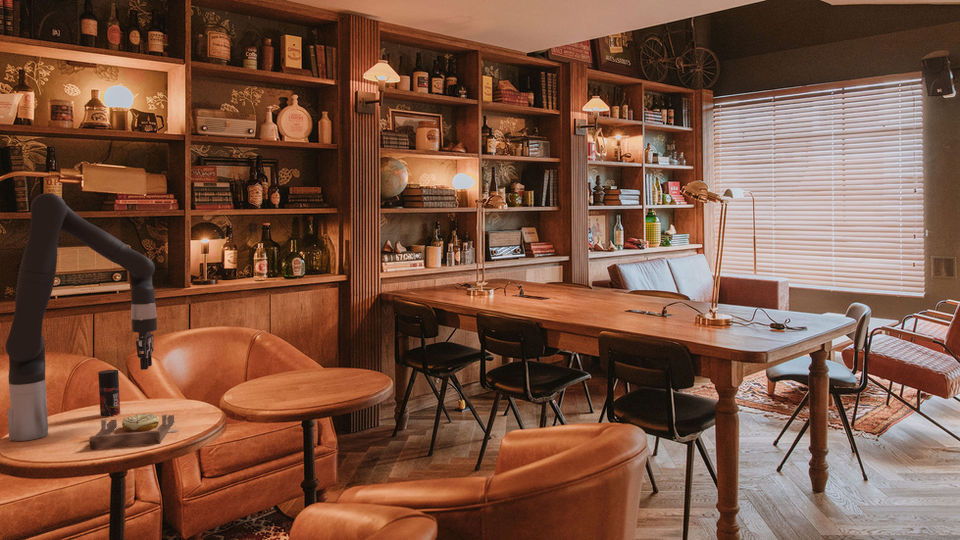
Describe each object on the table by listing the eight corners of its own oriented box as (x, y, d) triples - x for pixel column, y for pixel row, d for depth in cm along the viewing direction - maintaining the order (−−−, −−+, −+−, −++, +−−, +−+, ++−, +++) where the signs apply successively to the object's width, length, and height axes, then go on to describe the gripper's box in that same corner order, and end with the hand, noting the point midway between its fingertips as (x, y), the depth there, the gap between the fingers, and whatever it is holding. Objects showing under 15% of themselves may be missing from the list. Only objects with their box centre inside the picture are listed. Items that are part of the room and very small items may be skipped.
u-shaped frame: (78, 450, 188) (77, 431, 188) (101, 428, 210) (100, 411, 209) (171, 442, 195) (170, 424, 194) (184, 421, 216) (183, 405, 216)
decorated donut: (133, 435, 203) (132, 423, 202) (116, 429, 209) (115, 418, 208) (165, 426, 211) (165, 415, 211) (148, 421, 217) (147, 410, 217)
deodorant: (107, 412, 229) (105, 369, 228) (123, 412, 228) (121, 369, 227) (96, 417, 223) (94, 373, 222) (113, 417, 222) (111, 373, 222)
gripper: (137, 314, 224) (139, 364, 225) (125, 320, 210) (128, 373, 211) (160, 313, 226) (163, 362, 227) (151, 319, 212) (153, 371, 213)
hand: (146, 367), depth 219 cm, fingers open, 4 cm apart
